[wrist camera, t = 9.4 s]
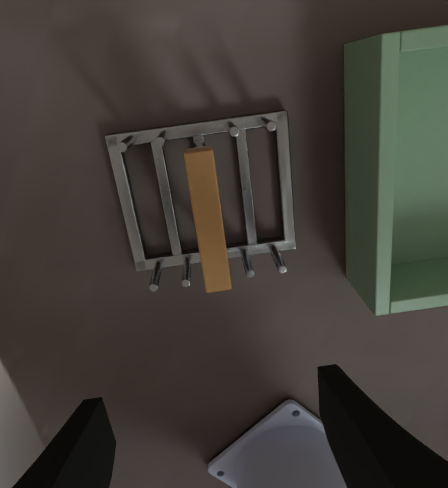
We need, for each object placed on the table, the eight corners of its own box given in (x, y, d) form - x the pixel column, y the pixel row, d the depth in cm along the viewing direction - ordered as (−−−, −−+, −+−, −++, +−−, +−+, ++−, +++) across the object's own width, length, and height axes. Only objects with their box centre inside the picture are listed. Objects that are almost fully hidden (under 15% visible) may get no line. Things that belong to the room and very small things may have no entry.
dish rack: (285, 109, 19) (314, 118, 14) (293, 244, 21) (320, 290, 17) (106, 134, 18) (75, 151, 14) (137, 266, 21) (120, 318, 16)
